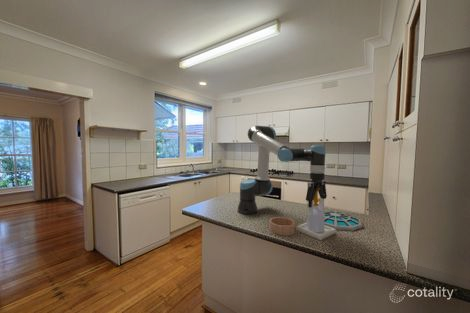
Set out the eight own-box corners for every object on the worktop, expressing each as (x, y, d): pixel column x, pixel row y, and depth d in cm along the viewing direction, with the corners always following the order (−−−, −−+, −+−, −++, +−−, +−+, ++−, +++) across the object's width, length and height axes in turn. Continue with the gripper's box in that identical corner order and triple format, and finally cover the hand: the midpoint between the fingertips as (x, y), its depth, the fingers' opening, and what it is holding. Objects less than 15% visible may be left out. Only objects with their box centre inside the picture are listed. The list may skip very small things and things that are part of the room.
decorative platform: (303, 221, 127) (303, 213, 127) (319, 210, 148) (320, 204, 148) (356, 236, 106) (356, 227, 105) (367, 222, 126) (367, 214, 126)
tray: (296, 230, 112) (296, 226, 112) (311, 224, 120) (311, 220, 120) (320, 240, 100) (320, 235, 99) (335, 233, 108) (335, 229, 108)
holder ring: (264, 228, 114) (264, 220, 114) (280, 223, 122) (280, 215, 122) (283, 237, 103) (283, 228, 102) (299, 231, 111) (299, 222, 111)
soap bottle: (326, 229, 110) (327, 187, 109) (320, 234, 104) (320, 189, 103) (311, 225, 116) (311, 185, 116) (304, 229, 110) (304, 187, 109)
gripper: (311, 174, 99) (310, 217, 100) (334, 171, 112) (332, 209, 113) (299, 173, 105) (298, 212, 106) (322, 170, 118) (320, 205, 119)
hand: (316, 211), depth 109 cm, fingers open, 10 cm apart
